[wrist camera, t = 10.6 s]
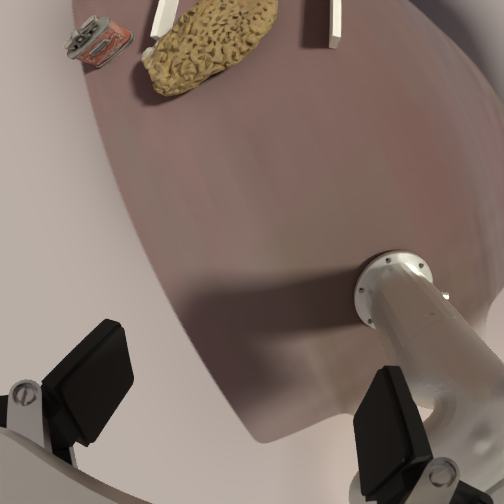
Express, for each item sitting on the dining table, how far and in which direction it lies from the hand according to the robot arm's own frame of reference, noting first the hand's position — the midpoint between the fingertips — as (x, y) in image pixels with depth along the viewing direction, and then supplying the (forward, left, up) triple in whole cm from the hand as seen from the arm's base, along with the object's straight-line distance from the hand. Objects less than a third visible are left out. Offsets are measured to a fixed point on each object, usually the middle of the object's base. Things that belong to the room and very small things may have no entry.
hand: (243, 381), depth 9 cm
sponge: (+11, -25, -29) cm, 39 cm away
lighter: (+28, -25, -28) cm, 47 cm away
